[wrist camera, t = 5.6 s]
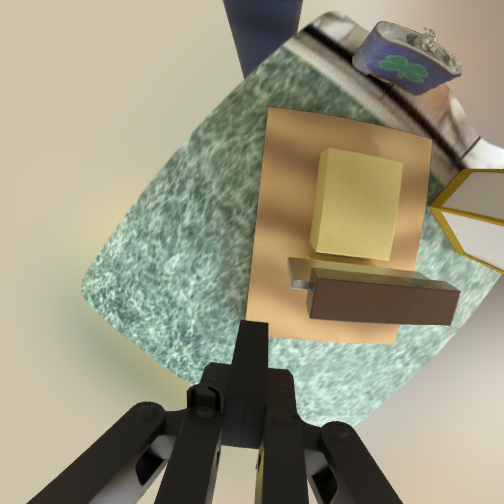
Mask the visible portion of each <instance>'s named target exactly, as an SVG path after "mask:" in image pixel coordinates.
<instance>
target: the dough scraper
mask: <svg viewBox="0 0 504 504" xmlns="http://www.w3.org/2000/svg"><path fill="white" fill-rule="evenodd" d="M287 266H288V271H289V276H290V281H291V286H292V289H300V290H308V293H307V299H306V307H307V311H308V314H309V318H310V319H316V320H329V321H342V322H356V323H373V324H393V325H419V326H451V323H452V320H453V317H454V313H455V310H456V307H457V304H458V300H459V297H460V293H461V291H459V290H458V289H456V288H455V287H453V286H452V285H450V284H449V283H447V282H445V281H437V280H430V279H429V278H427V277H426V276H424V275H423V274H421V273H420V272H417V271H408V270H400V269H391V268H382V267H373V266H364V265H356V264H347V263H338V262H329V261H320V260H312V259H303V258H294V257H288V259H287Z"/></svg>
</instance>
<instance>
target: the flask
mask: <svg viewBox="0 0 504 504" xmlns="http://www.w3.org/2000/svg"><path fill="white" fill-rule="evenodd" d="M424 30H427V29H426V28H424ZM429 31H430V33H432V34H434V35H435V36H436V37H437V33H436V32H435V31H433V30H432V29H429ZM436 40H437V39H436V38H435V37H434V36H431V35H430V34H429V33H425V34H420V33H417V32H415V31H413V30H411V29H408V28H405V27H402V26H400V25H397V24H394V23H389V22H385V21H380V22H378V23H377V24H376V26H375V27H374V28H373V30H372V31H371V33H370V34H369V36H368V37H367V38H366V40H365V41H364V42H363V44H362V45H361V47H360V48H359V49H358V51H357V52H356V53H355V54H354V56H353V58H352V65H353V66H354V67H355V68H356V69H357V70H359V71H360V72H362V73H364V74H366V75H368V74H370V75H372V76H375V77H376V78H378V79H380V80H382V81H384V82H386V83H394V84H395V85H396V87H397V86H398V87H402V88H403V89H404V90H405V91H408V92H409V93H411V94H413V95H414V96H418V95H420V94H421V95H422V94H423V93H425V92H426V91H428V90H430V89H433V88H436V87H437V86H439V85H440V84H443V83H445V82H447V81H450V80H452V79H454V78H456V77H460V76H461V69H462V68H461V65H460V62H459V61H458V60H457V58H456V57H455V56H453V55H452V54H451V53H449V52H448V51H447V50H445V49H444V48H443V47H442V46H440V45H439V44H438V43H437V42H436Z"/></svg>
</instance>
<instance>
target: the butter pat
mask: <svg viewBox="0 0 504 504" xmlns="http://www.w3.org/2000/svg"><path fill="white" fill-rule="evenodd" d="M307 259H312V260H320V261H329V262H338V263H347V264H356V265H364V266H373V267H378V266H376V265H375V264H374V263H373V262H372V261H365V260H356V259H348V258H339V257H331V256H322V255H313V254H308V255H307ZM306 291H307V293H308V290H306Z"/></svg>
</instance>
